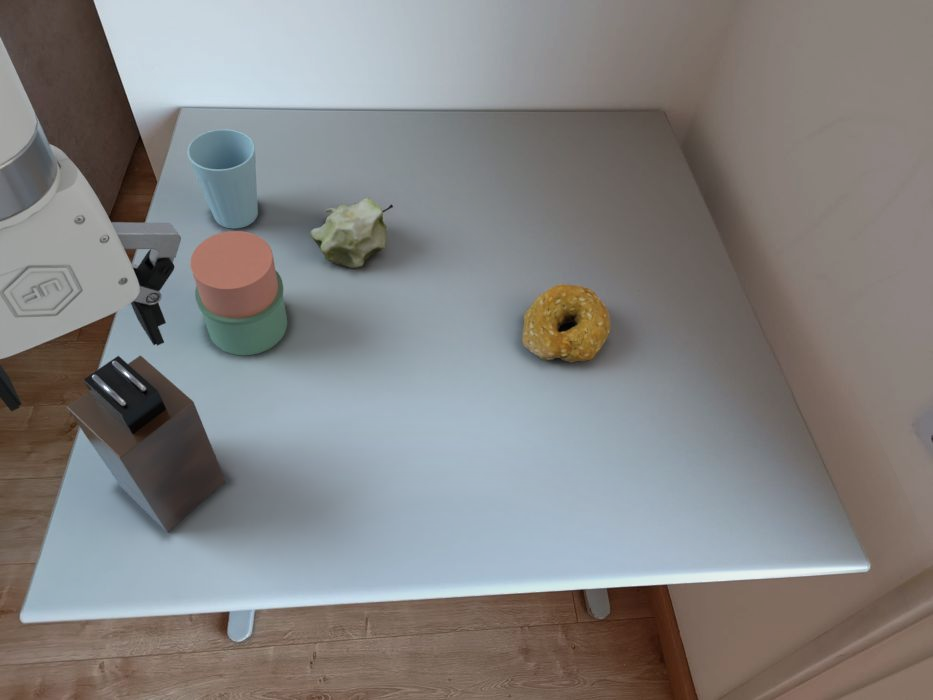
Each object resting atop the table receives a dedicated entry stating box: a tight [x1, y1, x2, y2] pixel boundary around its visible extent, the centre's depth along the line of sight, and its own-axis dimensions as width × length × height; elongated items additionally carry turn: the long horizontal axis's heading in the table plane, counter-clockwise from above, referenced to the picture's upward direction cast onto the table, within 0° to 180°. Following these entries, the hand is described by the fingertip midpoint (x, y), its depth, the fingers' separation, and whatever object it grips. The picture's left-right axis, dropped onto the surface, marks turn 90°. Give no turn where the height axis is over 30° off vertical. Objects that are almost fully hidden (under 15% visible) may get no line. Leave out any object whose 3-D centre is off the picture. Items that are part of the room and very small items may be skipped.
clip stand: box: [66, 355, 227, 533], centre depth 64 cm, size 7×7×15 cm
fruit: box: [310, 197, 394, 269], centre depth 88 cm, size 9×9×8 cm
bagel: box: [521, 283, 611, 363], centre depth 84 cm, size 10×11×5 cm
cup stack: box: [189, 230, 288, 356], centre depth 78 cm, size 9×9×11 cm
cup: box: [186, 128, 259, 230], centre depth 88 cm, size 8×8×10 cm
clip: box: [82, 355, 166, 434], centre depth 57 cm, size 3×5×3 cm, turn 51°
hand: (83, 361), depth 50 cm, fingers open, 9 cm apart
